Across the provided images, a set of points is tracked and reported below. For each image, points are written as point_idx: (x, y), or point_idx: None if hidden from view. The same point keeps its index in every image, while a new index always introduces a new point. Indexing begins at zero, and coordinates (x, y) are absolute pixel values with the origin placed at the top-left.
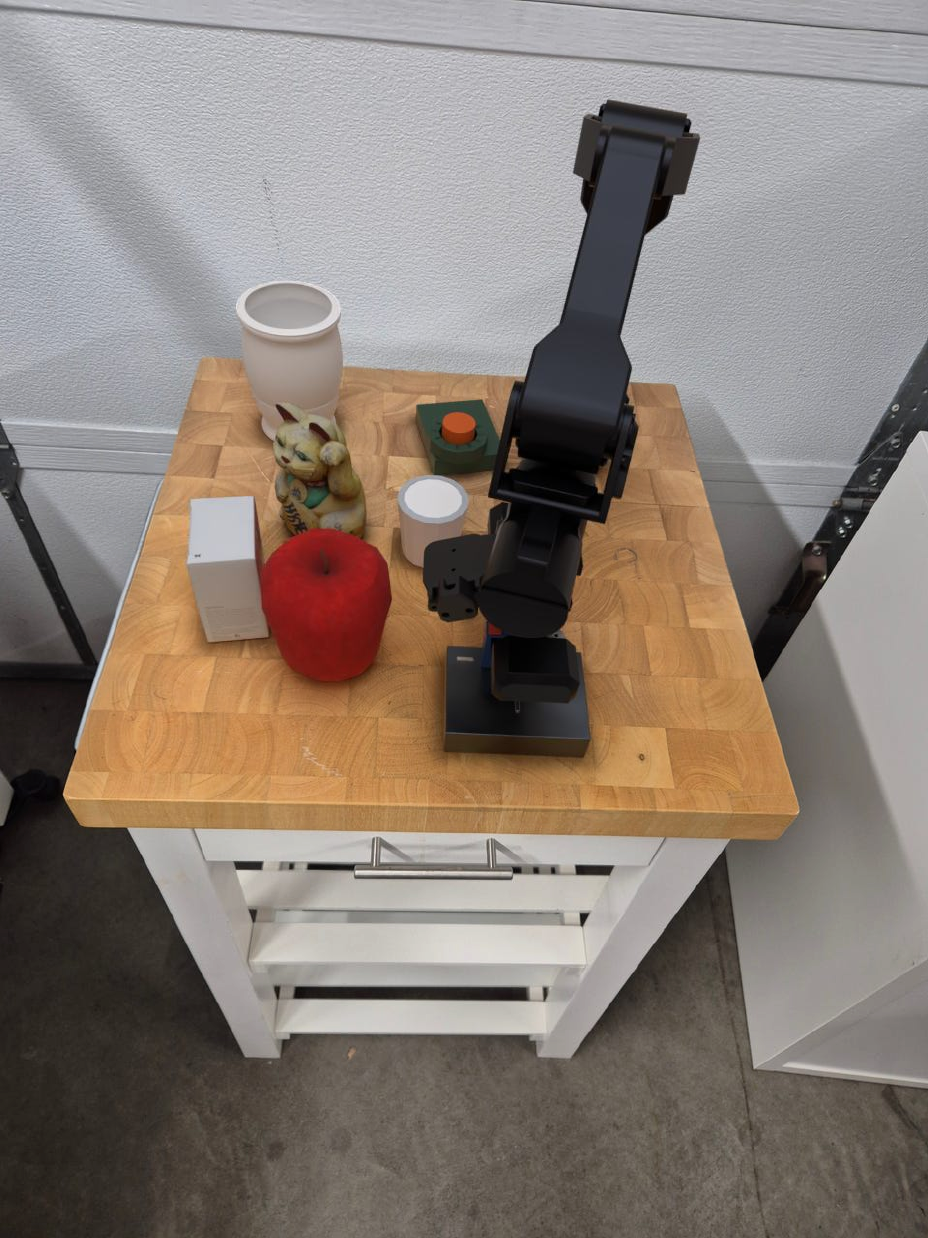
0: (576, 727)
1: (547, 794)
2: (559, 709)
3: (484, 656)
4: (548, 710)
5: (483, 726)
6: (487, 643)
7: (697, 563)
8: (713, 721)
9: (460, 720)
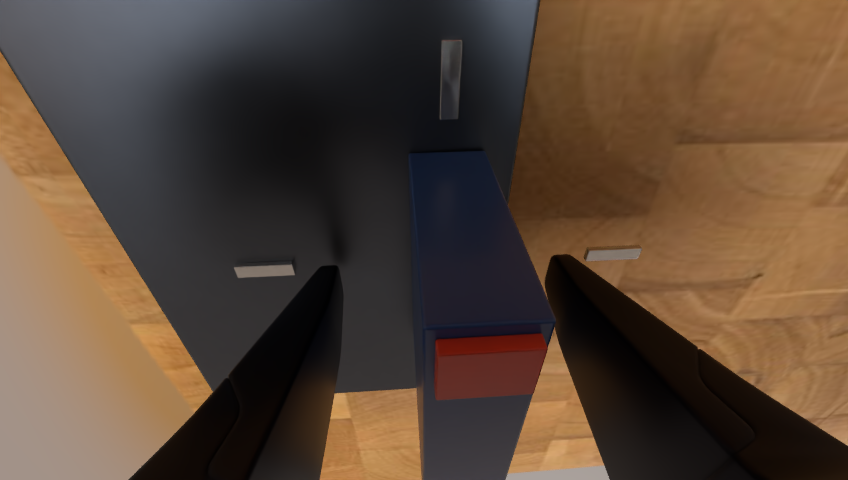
0: None
1: (110, 272)
2: None
3: (411, 201)
4: None
5: (114, 166)
6: (417, 277)
7: None
8: (375, 454)
9: (89, 65)
